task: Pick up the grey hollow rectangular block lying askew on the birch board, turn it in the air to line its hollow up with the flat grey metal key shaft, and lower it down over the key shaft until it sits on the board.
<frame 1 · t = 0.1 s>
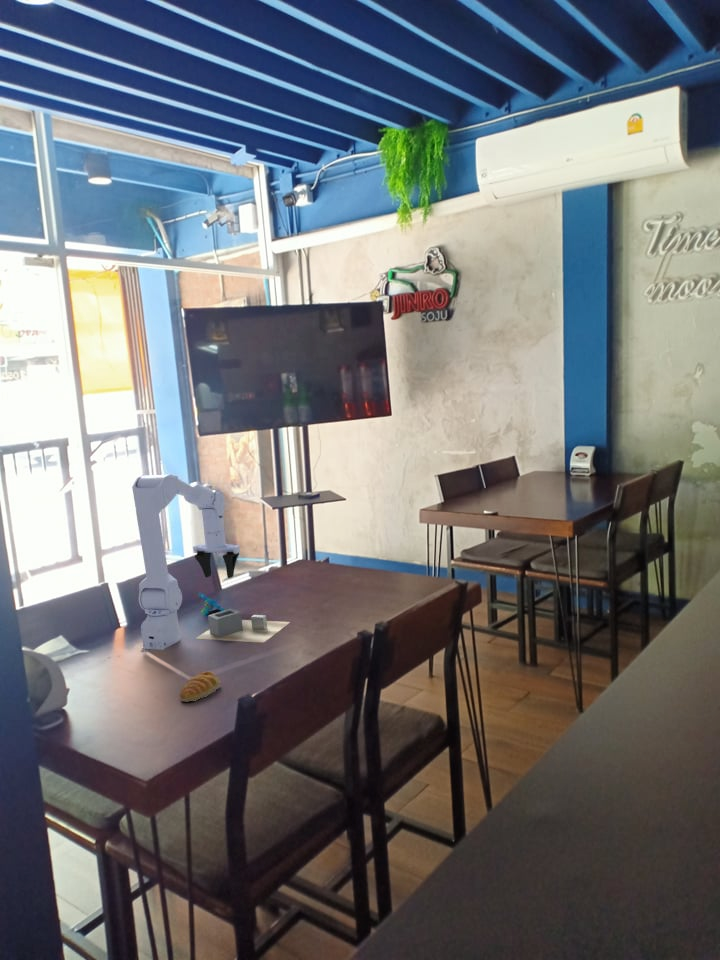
hand: (219, 576, 215), 10 cm above the table, tool pointing down, fingers open, 7 cm apart
pastry: (201, 694, 159), on the table
blue cross piece: (213, 616, 212), on the table
grey hollow rectangular block: (226, 632, 194), point 1 cm above the table, touching shaft board
key shaft: (260, 632, 194), resting on shaft board
shaft board: (244, 633, 194), on the table
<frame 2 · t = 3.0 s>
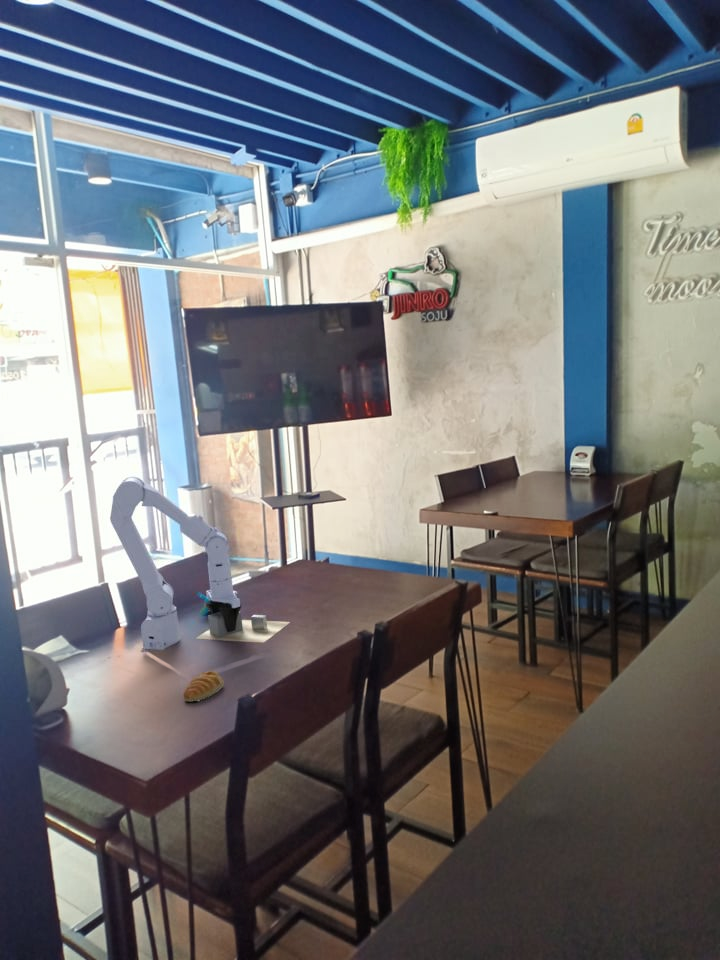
hand: (226, 628, 193), 2 cm above the table, tool pointing down, fingers closed on grey hollow rectangular block, 5 cm apart
grey hollow rectangular block: (226, 632, 194), point 1 cm above the table, touching gripper, shaft board
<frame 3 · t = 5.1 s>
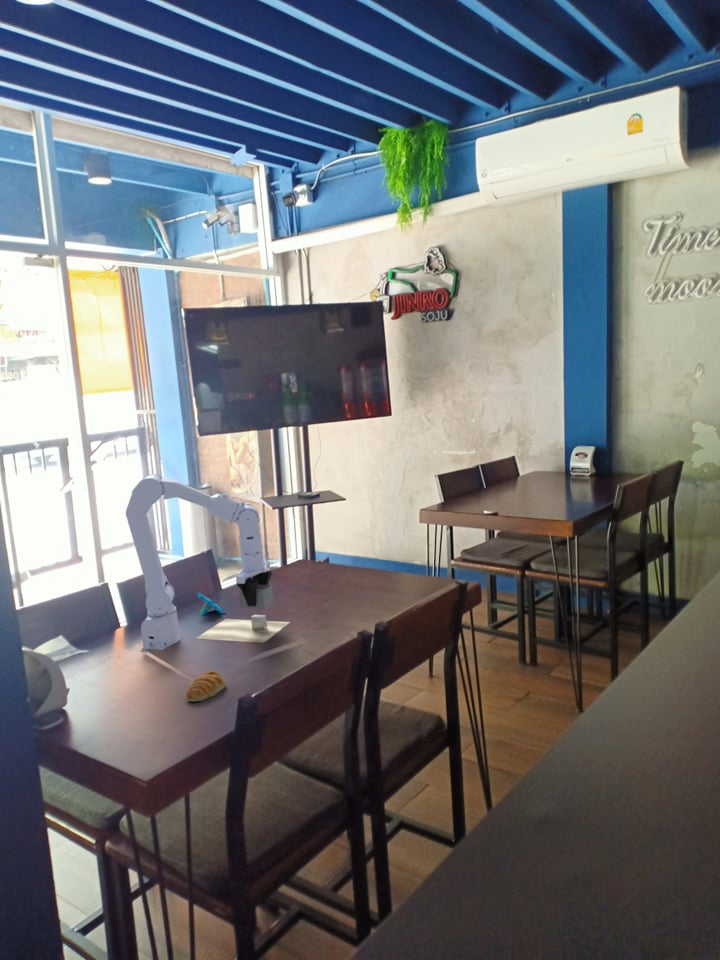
hand: (257, 602, 193), 8 cm above the table, tool pointing down, fingers closed on grey hollow rectangular block, 5 cm apart
grey hollow rectangular block: (257, 605, 193), point 7 cm above the table, touching gripper
when the fingers open (3 cm above the table, at t = 7.4 s): grey hollow rectangular block drops 1 cm, resting on shaft board.
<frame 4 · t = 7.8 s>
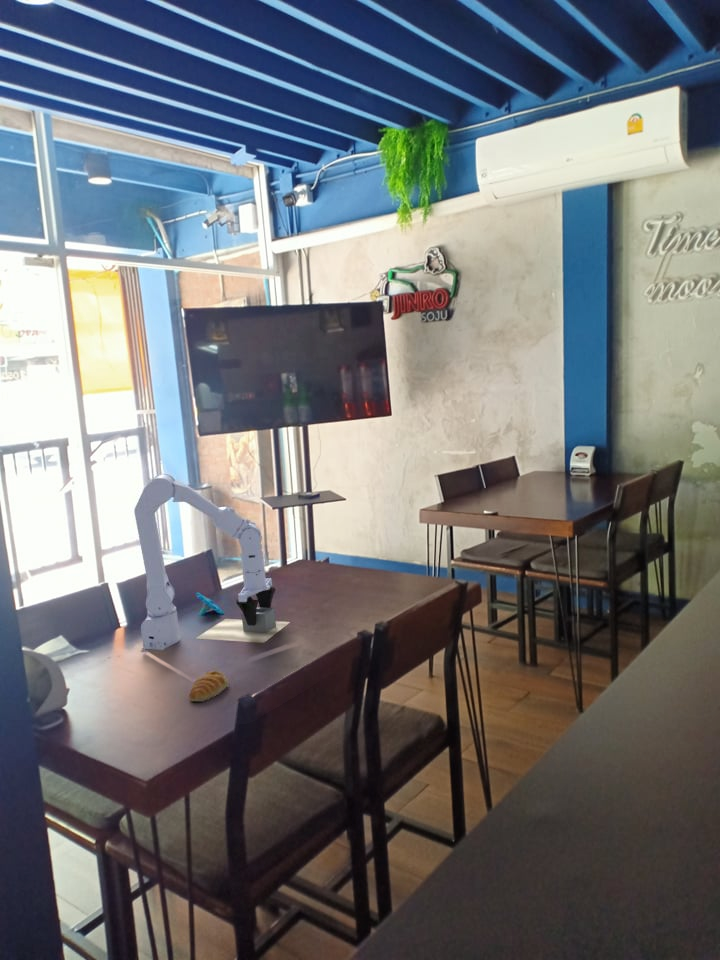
hand: (258, 620, 194), 3 cm above the table, tool pointing down, fingers open, 7 cm apart
grey hollow rectangular block: (259, 628, 194), point 1 cm above the table, touching shaft board
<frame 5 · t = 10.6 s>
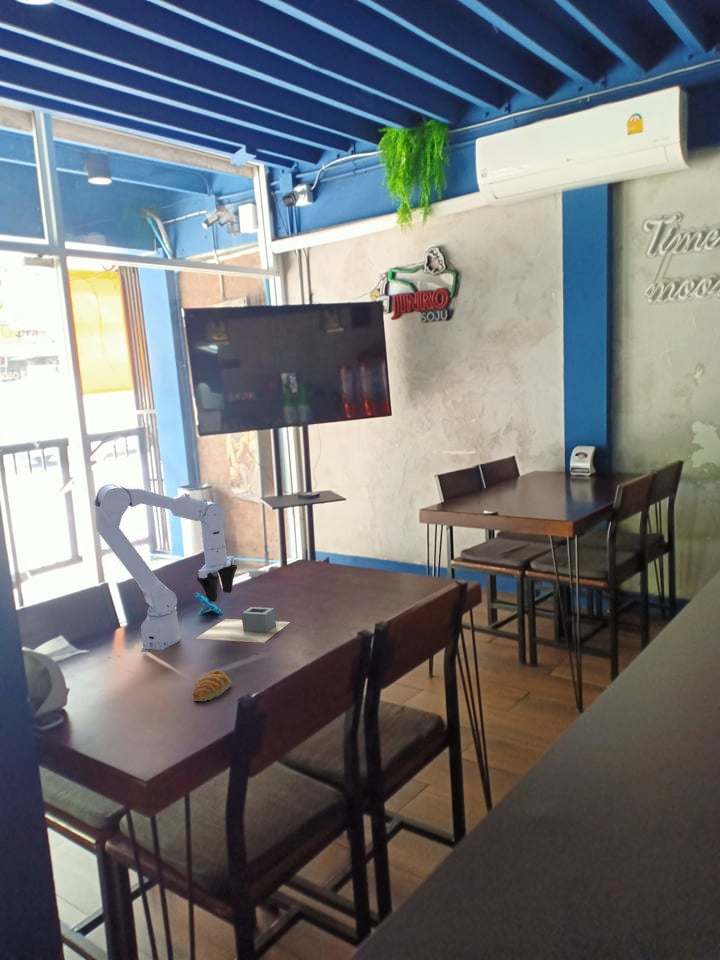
hand: (220, 596, 197), 9 cm above the table, tool pointing down, fingers open, 7 cm apart
at the end: grey hollow rectangular block 0.0 cm off-centre on the key shaft, point 1.0 cm above the key shaft's base; grey hollow rectangular block tilted 0°; the gripper is holding nothing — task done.
